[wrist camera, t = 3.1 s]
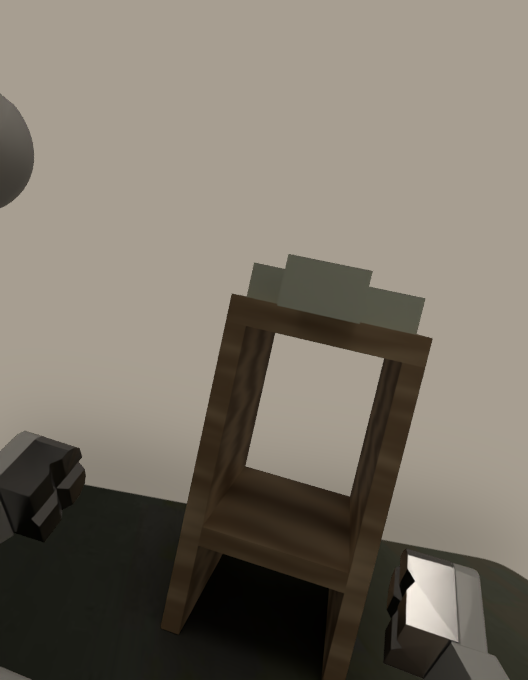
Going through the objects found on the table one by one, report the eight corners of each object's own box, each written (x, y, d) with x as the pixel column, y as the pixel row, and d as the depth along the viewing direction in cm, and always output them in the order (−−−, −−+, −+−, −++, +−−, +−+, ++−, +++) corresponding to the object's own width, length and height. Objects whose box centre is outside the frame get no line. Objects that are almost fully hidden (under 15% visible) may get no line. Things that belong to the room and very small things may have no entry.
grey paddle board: (448, 343, 21) (462, 289, 21) (199, 288, 23) (209, 238, 23) (399, 329, 42) (405, 303, 42) (273, 301, 44) (279, 276, 44)
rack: (341, 694, 33) (444, 293, 30) (160, 628, 35) (240, 251, 33) (344, 582, 46) (415, 301, 44) (214, 540, 49) (273, 271, 46)
